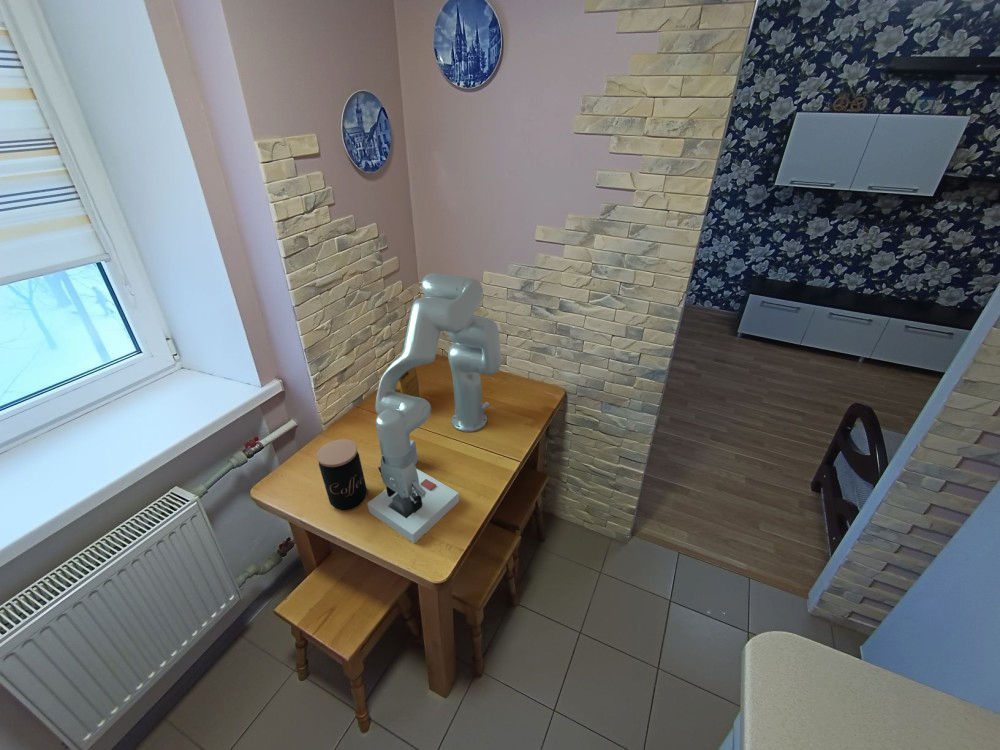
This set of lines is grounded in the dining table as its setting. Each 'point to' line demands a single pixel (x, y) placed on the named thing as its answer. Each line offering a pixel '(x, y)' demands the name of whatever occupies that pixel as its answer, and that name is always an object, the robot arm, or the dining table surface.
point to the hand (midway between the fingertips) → (405, 501)
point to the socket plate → (426, 517)
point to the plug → (403, 505)
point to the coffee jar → (342, 474)
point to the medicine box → (414, 451)
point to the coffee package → (408, 383)
